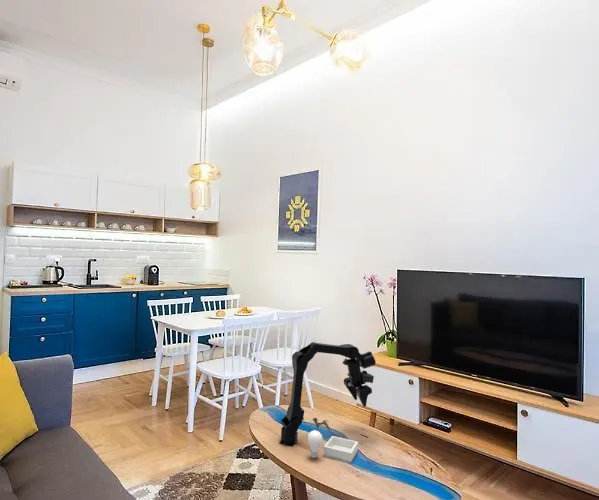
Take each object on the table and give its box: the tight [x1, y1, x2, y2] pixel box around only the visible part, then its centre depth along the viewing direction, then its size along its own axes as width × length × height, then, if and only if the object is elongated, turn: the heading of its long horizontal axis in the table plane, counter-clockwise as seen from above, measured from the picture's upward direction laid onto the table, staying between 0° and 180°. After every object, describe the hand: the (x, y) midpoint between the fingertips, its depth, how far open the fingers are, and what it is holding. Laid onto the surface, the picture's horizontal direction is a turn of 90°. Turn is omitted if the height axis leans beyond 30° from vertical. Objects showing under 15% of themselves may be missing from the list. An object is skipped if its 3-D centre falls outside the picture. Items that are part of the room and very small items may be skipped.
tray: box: [322, 435, 359, 464], centre depth 178 cm, size 12×12×4 cm
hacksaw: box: [312, 417, 345, 439], centre depth 203 cm, size 24×10×2 cm, turn 11°
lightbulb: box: [306, 429, 324, 459], centre depth 173 cm, size 6×6×11 cm
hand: (360, 403), depth 197 cm, fingers open, 9 cm apart
